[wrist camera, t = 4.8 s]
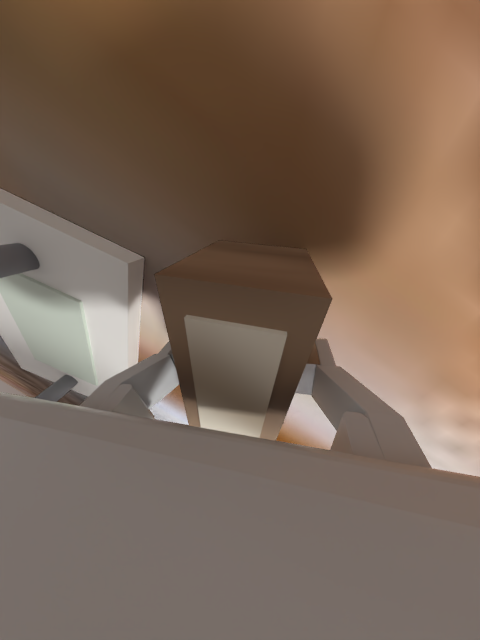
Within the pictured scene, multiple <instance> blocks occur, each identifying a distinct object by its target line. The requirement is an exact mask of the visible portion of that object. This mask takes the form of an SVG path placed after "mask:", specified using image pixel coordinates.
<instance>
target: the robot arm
mask: <svg viewBox="0 0 480 640" xmlns="http://www.w3.org/2000/svg"><path fill="white" fill-rule="evenodd" d="M178 385H179V380H178V376H177V371H176V367H175V363H174V358H173V354H172V350H171V345H170V341H169V342H168V343H167V344H166V345H165V346H164V347H163V349H162V350H161V351H160V352H159V353H158V354H154V355H152V356H150V357H148V358H147V359H145V360H143V361H141V362H139V363H137V364H135V365H133V366H131V367H130V368H128V369H126V370H124V371H122V372H120V373H118V374H116V375H115V376H113V377H111V378H109V379H107V380H105V381H104V382H103V383H102V384H101V385H100V386H99V387H98V388H97V389H96V390H95V391H94V392H93V393H92V394H91V395H90V396H89V397H88V398H87V399H86V400H85V401H84V402H82V403H81V404H80V405H79V406H77V405H71V404H66V403H60V402H54V401H49V400H43V399H37V398H32V397H26V396H20V395H15V394H9V393H4V392H0V640H480V477H477V476H472V475H466V474H460V473H455V472H449V471H443V470H438V469H432V468H431V466H430V464H429V462H428V460H427V459H426V457H425V455H424V453H423V452H422V450H421V448H420V446H419V444H418V443H417V441H416V439H415V437H414V436H413V434H412V432H411V430H410V428H409V427H408V425H407V423H406V421H405V420H404V418H403V417H402V416H401V415H400V414H398V413H397V412H396V411H395V410H393V409H392V408H391V407H390V406H388V405H387V404H386V403H385V402H384V401H382V400H381V399H380V398H379V397H377V396H376V395H375V394H374V393H372V392H371V391H370V390H369V389H367V388H366V387H365V386H364V385H362V384H361V383H360V382H359V381H358V380H356V379H355V378H354V377H353V376H351V375H350V374H349V373H348V372H346V371H345V370H344V369H343V368H341V367H339V366H336V364H335V361H334V358H333V355H332V352H331V349H330V346H329V343H328V340H327V339H316V341H315V344H314V346H313V349H312V351H311V354H310V356H309V359H308V361H307V364H306V366H305V369H304V371H303V374H302V376H301V379H300V381H299V384H298V386H297V389H296V391H295V393H300V394H307V395H312V397H313V399H314V400H315V401H316V403H317V404H318V405H319V407H320V408H321V410H322V411H323V412H324V414H325V415H326V417H327V418H328V419H329V421H330V422H331V423H332V425H333V426H334V428H335V429H336V430H337V433H336V435H335V438H334V441H333V444H332V447H331V450H325V449H319V448H314V447H308V446H302V445H297V444H291V443H285V442H280V441H274V440H269V439H263V438H257V437H252V436H246V435H241V434H235V433H229V432H224V431H218V430H213V429H207V428H201V427H196V426H190V425H184V424H179V423H173V422H167V421H162V420H156V419H154V416H153V414H152V413H151V411H150V409H151V408H152V407H153V406H154V405H155V404H157V403H158V402H159V401H160V400H161V399H163V398H164V397H165V396H166V395H167V394H168V393H170V392H171V391H172V390H173V389H174V388H175V387H177V386H178Z"/></svg>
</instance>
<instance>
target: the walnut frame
mask: <svg viewBox="0 0 480 640" xmlns="http://www.w3.org/2000/svg"><path fill="white" fill-rule="evenodd" d="M154 276H155V280H156V285H157V289H158V293H159V298H160V302H161V306H162V311H163V315H164V319H165V324H166V328H167V332H168V337H169V341H170V345H171V350H172V354H173V358H174V363H175V367H176V371H177V376H178V380H179V384H180V389H181V393H182V397H183V402H184V406H185V410H186V415H187V419H188V423H189V425H190V426H196V427H201V428H207V429H213V430H218V431H224V432H229V433H235V434H241V435H246V436H252V437H257V438H263V439H269V440H274V441H276V439H277V437H278V434H279V432H280V429H281V426H282V424H283V421H284V419H285V416H286V414H287V411H288V409H289V406H290V404H291V401H292V399H293V396H294V394H295V391H296V389H297V386H298V384H299V381H300V379H301V376H302V374H303V371H304V369H305V366H306V364H307V361H308V359H309V356H310V354H311V351H312V349H313V346H314V344H315V341H316V339H317V336H318V334H319V331H320V329H321V326H322V324H323V321H324V318H325V316H326V313H327V311H328V308H329V306H330V303H331V301H332V297H331V295H330V293H329V291H328V290H327V288H326V286H325V284H324V282H323V280H322V278H321V276H320V274H319V272H318V270H317V268H316V267H315V265H314V263H313V261H312V259H311V257H310V255H309V253H308V251H307V249H301V248H291V247H281V246H271V245H261V244H251V243H241V242H231V241H221V240H219V241H217V242H215V243H213V244H211V245H209V246H207V247H205V248H204V249H202V250H200V251H198V252H196V253H194V254H192V255H190V256H188V257H186V258H184V259H182V260H181V261H179V262H177V263H175V264H173V265H171V266H169V267H167V268H165V269H163V270H161V271H160V272H158V273H156V274H154Z"/></svg>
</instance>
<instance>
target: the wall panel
mask: <svg viewBox="0 0 480 640" xmlns="http://www.w3.org/2000/svg"><path fill="white" fill-rule="evenodd" d="M143 271H144V257H142V256H140V255H138V254H136V253H134V252H132V251H130V250H128V249H125V248H123V247H121V246H119V245H117V244H115V243H113V242H111V241H109V240H107V239H105V238H103V237H101V236H98V235H96V234H94V233H92V232H90V231H88V230H86V229H84V228H82V227H80V226H78V225H76V224H74V223H71V222H69V221H67V220H65V219H63V218H61V217H59V216H57V215H55V214H53V213H51V212H49V211H46V210H44V209H42V208H40V207H38V206H36V205H34V204H32V203H30V202H28V201H26V200H24V199H22V198H19V197H17V196H15V195H13V194H11V193H9V192H7V191H5V190H3V189H1V188H0V335H1V337H2V338H3V340H4V342H5V343H6V345H7V346H8V348H9V349H10V351H11V353H12V354H13V356H14V357H15V359H16V360H17V362H18V364H19V365H20V367H21V368H22V369H24V370H26V371H29V372H31V373H33V374H36V375H38V376H40V377H43V378H45V379H47V380H50V381H52V382H54V383H53V384H52V385H51V386H50V387H48V388H47V389H46V390H44V391H43V392H42V393H40V394H39V395H38V396H37V397H35V398H37V399H43V400H49V401H54V402H57V401H58V400H59V399H60V398H61V397H63V396H64V395H65V394H66V393H67V392H68V391H70V390H73V391H75V392H78V393H80V394H82V395H85V396H87V397H89V396H90V395H91V394H92V393H93V392H94V391H95V390H96V389H97V388H98V387H99V386H100V385H101V384H102V383H103V382H104V381H105V380H107V379H109V378H111V377H113V376H115V375H116V374H118V373H120V372H122V371H124V370H126V369H128V368H130V367H131V366H133V365H135V364H137V363H138V354H139V337H140V321H141V304H142V288H143Z"/></svg>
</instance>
